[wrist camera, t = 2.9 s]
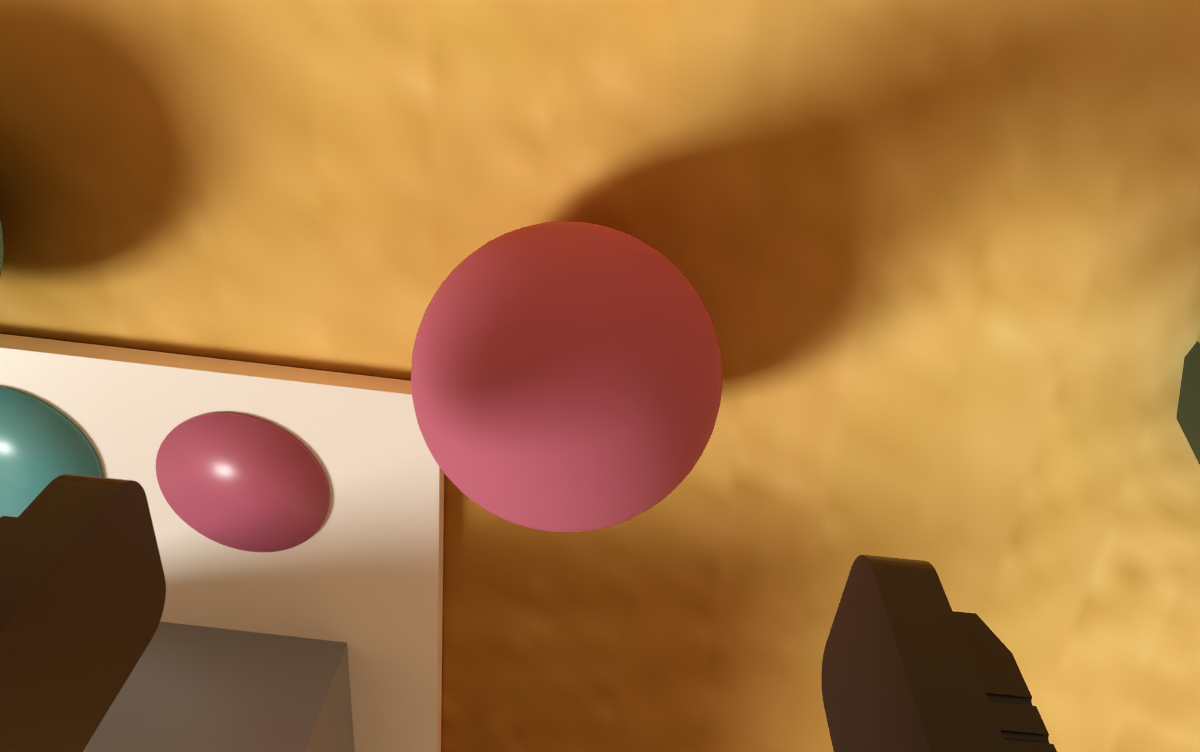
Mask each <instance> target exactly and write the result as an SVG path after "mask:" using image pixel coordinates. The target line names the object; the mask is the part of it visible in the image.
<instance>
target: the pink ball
mask: <svg viewBox="0 0 1200 752" xmlns="http://www.w3.org/2000/svg"><path fill="white" fill-rule="evenodd" d="M411 389H412V399H413V404H414V409H415V414H416V418H417V422H418V425H419V428H420V430H421V433H422V435H423V438H424V440H425V442H426V444H427V447H428V449H429V450H430V452H431V454H432V456H433V457H434V459H435V461H436V463H437V464H438V465H439V467H440V468H441V469H442V471H443V472H444V473H445V475H446V476H447V477H448V478H449V479H450V480H451V481H452V482H453V483H454V484H455V485H456V486H457V487H458V489H459V490H460V491H461V492H462V493H463V494H465V495H466V496H467V497H468V498H470V499H471V500H472V501H473V502H474V503H476V504H477V505H479V506H480V507H482V508H484V509H485V510H487V511H488V512H490V513H492V514H494V515H496V516H498V517H500V518H502V519H504V520H507V521H510V522H512V523H515V524H517V525H521V526H525V527H529V528H532V529H538V530H544V531H550V532H584V531H591V530H598V529H602V528H606V527H610V526H613V525H616V524H619V523H621V522H624V521H627V520H629V519H631V518H633V517H635V516H637V515H639V514H641V513H643V512H644V511H646V510H648V509H650V508H651V507H653V506H654V505H656V504H657V503H659V502H660V501H662V500H663V499H664V498H665V497H666V496H667V495H668V494H670V493H671V492H672V491H673V490H674V489H675V488H676V487H677V486H678V485H679V484H680V483H681V482H682V481H683V479H684V478H685V477H686V476H687V475H688V474H689V473H690V471H691V470H692V469H693V467H694V466H695V464H696V462H697V461H698V459H699V458H700V456H701V454H702V453H703V451H704V449H705V447H706V445H707V443H708V441H709V438H710V436H711V434H712V432H713V428H714V425H715V421H716V418H717V414H718V410H719V406H720V400H721V392H722V359H721V354H720V348H719V343H718V339H717V335H716V332H715V329H714V326H713V323H712V320H711V317H710V315H709V313H708V311H707V309H706V307H705V305H704V303H703V301H702V299H701V298H700V296H699V294H698V293H697V291H696V290H695V289H694V287H693V286H692V284H691V283H690V282H689V280H688V279H687V277H686V276H685V275H684V274H683V273H682V272H681V271H680V270H679V269H678V268H677V267H676V266H675V265H674V263H672V262H671V261H670V260H669V259H667V258H666V257H665V256H664V255H662V254H661V253H660V252H659V251H657V250H656V249H654V248H653V247H651V246H649V245H648V244H646V243H644V242H643V241H641V240H640V239H638V238H635V237H633V236H631V235H629V234H627V233H624V232H622V231H619V230H616V229H613V228H610V227H606V226H603V225H598V224H592V223H586V222H572V221H561V222H547V223H542V224H537V225H532V226H527V227H523V228H520V229H517V230H514V231H512V232H509V233H506V234H504V235H502V236H500V237H498V238H496V239H494V240H492V241H490V242H488V243H486V244H485V245H484V246H482V247H481V248H479V249H478V250H476V251H475V252H473V253H472V254H471V255H469V256H468V257H467V258H466V259H465V260H464V261H462V262H461V263H460V264H459V265H458V266H457V267H456V268H455V269H454V270H453V271H452V272H451V273H450V274H449V276H448V277H447V278H446V279H445V281H444V282H443V283H442V284H441V286H440V287H439V289H438V290H437V292H436V293H435V295H434V297H433V298H432V300H431V302H430V303H429V305H428V307H427V309H426V311H425V314H424V316H423V319H422V321H421V324H420V327H419V329H418V332H417V335H416V340H415V344H414V349H413V355H412V369H411Z"/></svg>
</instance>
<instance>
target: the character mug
mask: <svg viewBox="0 0 1200 752" xmlns="http://www.w3.org/2000/svg"><path fill="white" fill-rule="evenodd" d="M1177 420H1178V422H1179V424H1180V426H1181V428H1182V430H1183V432H1184V434H1185V436H1186V438H1187V440H1188V442H1189V444H1190V446H1191V448H1192V450H1193V452H1194V454H1195V456H1196V458H1197V460H1198V462H1199V464H1200V343H1199V342H1198V341H1197V342H1196V344H1195V345H1194V346H1193V348H1192V349H1191V350H1190V351H1189V353H1188V354H1187V355H1186V356H1185V359H1184V367H1183V374H1182V381H1181V389H1180V396H1179V403H1178V411H1177Z"/></svg>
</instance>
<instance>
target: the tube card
mask: <svg viewBox="0 0 1200 752" xmlns="http://www.w3.org/2000/svg"><path fill="white" fill-rule="evenodd" d="M63 474H73V475H83V476H93V477H103V478H113V479H123V480H133V481H136V482H138V483H139V484H140V485H141V486H142V487H143V489H144V491H145V494H146V497H147V501H148V505H149V510H150V514H151V519H152V523H153V527H154V532H155V536H156V540H157V545H158V549H159V554H160V558H161V562H162V567H163V571H164V575H165V581H166V597H165V604H164V609H163V613H162V617H161V620H160V623H159V625H158V628H157V630H156V632H155V634H154V636H153V638H152V640H151V641H150V643H149V644H148V646H147V648H146V649H145V651H144V653H143V654H142V656H141V657H140V659H139V661H138V662H137V664H136V666H135V667H134V669H133V671H132V672H131V674H130V675H129V677H128V679H127V680H126V682H125V684H124V685H123V687H122V689H121V690H120V692H119V693H118V695H117V697H116V698H115V700H114V702H113V703H112V705H111V706H110V708H109V710H108V711H107V713H106V715H105V716H104V718H103V720H102V721H101V723H100V724H99V726H98V728H97V729H96V731H95V733H94V734H93V736H92V738H91V739H90V741H89V742H88V744H87V746H86V747H85V749H84V751H83V752H441V703H442V619H443V534H444V472H443V471H442V469H441V468H440V467H439V465H438V464H437V463H436V461H435V459H434V457H433V456H432V454H431V452H430V450H429V449H428V447H427V444H426V442H425V440H424V438H423V435H422V433H421V430H420V428H419V425H418V422H417V418H416V414H415V409H414V404H413V399H412V389H411V381H409V380H401V379H392V378H383V377H374V376H366V375H357V374H348V373H339V372H331V371H322V370H313V369H304V368H296V367H287V366H278V365H269V364H261V363H252V362H243V361H234V360H226V359H217V358H208V357H200V356H191V355H182V354H173V353H165V352H156V351H147V350H138V349H130V348H121V347H112V346H103V345H95V344H86V343H77V342H68V341H60V340H51V339H42V338H33V337H25V336H16V335H7V334H0V517H2V516H10V517H19V515H20V514H21V513H22V512H23V511H24V510H25V509H26V508H27V507H28V506H29V505H30V504H31V502H32V501H33V500H34V499H35V498H36V497H37V496H38V495H39V494H40V493H41V492H42V490H43V489H44V488H45V487H46V486H47V485H48V484H49V483H50V482H51V481H52V480H53V479H55V478H57V477H58V476H61V475H63Z"/></svg>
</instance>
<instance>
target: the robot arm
mask: <svg viewBox="0 0 1200 752" xmlns="http://www.w3.org/2000/svg"><path fill="white" fill-rule="evenodd" d="M165 597H166V581H165V575H164V571H163V567H162V562H161V558H160V554H159V549H158V545H157V540H156V536H155V532H154V527H153V523H152V519H151V514H150V510H149V505H148V501H147V497H146V494H145V491H144V489H143V487H142V486H141V485H140V484H139V483H138V482H136V481H133V480H123V479H113V478H103V477H93V476H83V475H73V474H63V475H61V476H58V477H57V478H55V479H53V480H52V481H51V482H50V483H49V484H48V485H47V486H46V487H45V488H44V489H43V490H42V492H41V493H40V494H39V495H38V496H37V497H36V498H35V499H34V500H33V501H32V502H31V504H30V505H29V506H28V507H27V508H26V509H25V510H24V511H23V512H22V513H21V514H20V515H19V517H10V516H2V517H0V752H83V751H84V749H85V747H86V746H87V744H88V742H89V741H90V739H91V738H92V736H93V734H94V733H95V731H96V729H97V728H98V726H99V724H100V723H101V721H102V720H103V718H104V716H105V715H106V713H107V711H108V710H109V708H110V706H111V705H112V703H113V702H114V700H115V698H116V697H117V695H118V693H119V692H120V690H121V689H122V687H123V685H124V684H125V682H126V680H127V679H128V677H129V675H130V674H131V672H132V671H133V669H134V667H135V666H136V664H137V662H138V661H139V659H140V657H141V656H142V654H143V653H144V651H145V649H146V648H147V646H148V644H149V643H150V641H151V640H152V638H153V636H154V634H155V632H156V630H157V628H158V625H159V623H160V620H161V617H162V613H163V609H164V604H165ZM822 695H823V702H824V708H825V712H826V717H827V722H828V727H829V731H830V736H831V741H832V745H833V750H834V752H1057V751H1056V749H1055V747H1054V745H1053V744H1049V741H1048V736H1049V734H1048V731H1047V729H1046V727H1045V725H1044V723H1043V720H1042V718H1041V716H1040V714H1039V712H1038V709H1037V707H1036V706H1032V703H1031V699H1032V696H1031V694H1030V692H1029V690H1028V687H1027V685H1026V683H1025V681H1024V679H1023V677H1022V674H1021V672H1020V670H1019V668H1018V666H1017V663H1016V661H1015V659H1014V657H1013V655H1012V653H1011V652H1010V651H1009V649H1008V648H1007V647H1006V646H1005V645H1004V644H1003V643H1002V642H1001V641H1000V640H999V638H998V637H997V636H996V635H995V634H994V633H993V632H992V631H991V630H990V629H989V627H988V626H987V625H986V624H985V623H984V622H983V621H982V620H981V619H980V618H979V616H978V615H977V614H974V613H964V612H954V611H952V609H951V607H950V604H949V602H948V599H947V597H946V595H945V592H944V590H943V587H942V585H941V582H940V580H939V577H938V575H937V573H936V571H935V569H934V567H933V566H932V565H931V564H930V563H929V562H927V561H919V560H909V559H899V558H889V557H879V556H869V555H860V556H858V557H857V558H856V560H855V561H854V563H853V565H852V568H851V571H850V574H849V577H848V580H847V583H846V586H845V589H844V592H843V595H842V598H841V601H840V604H839V607H838V610H837V613H836V615H835V618H834V621H833V624H832V627H831V630H830V633H829V636H828V639H827V642H826V646H825V650H824V655H823V662H822Z"/></svg>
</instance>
